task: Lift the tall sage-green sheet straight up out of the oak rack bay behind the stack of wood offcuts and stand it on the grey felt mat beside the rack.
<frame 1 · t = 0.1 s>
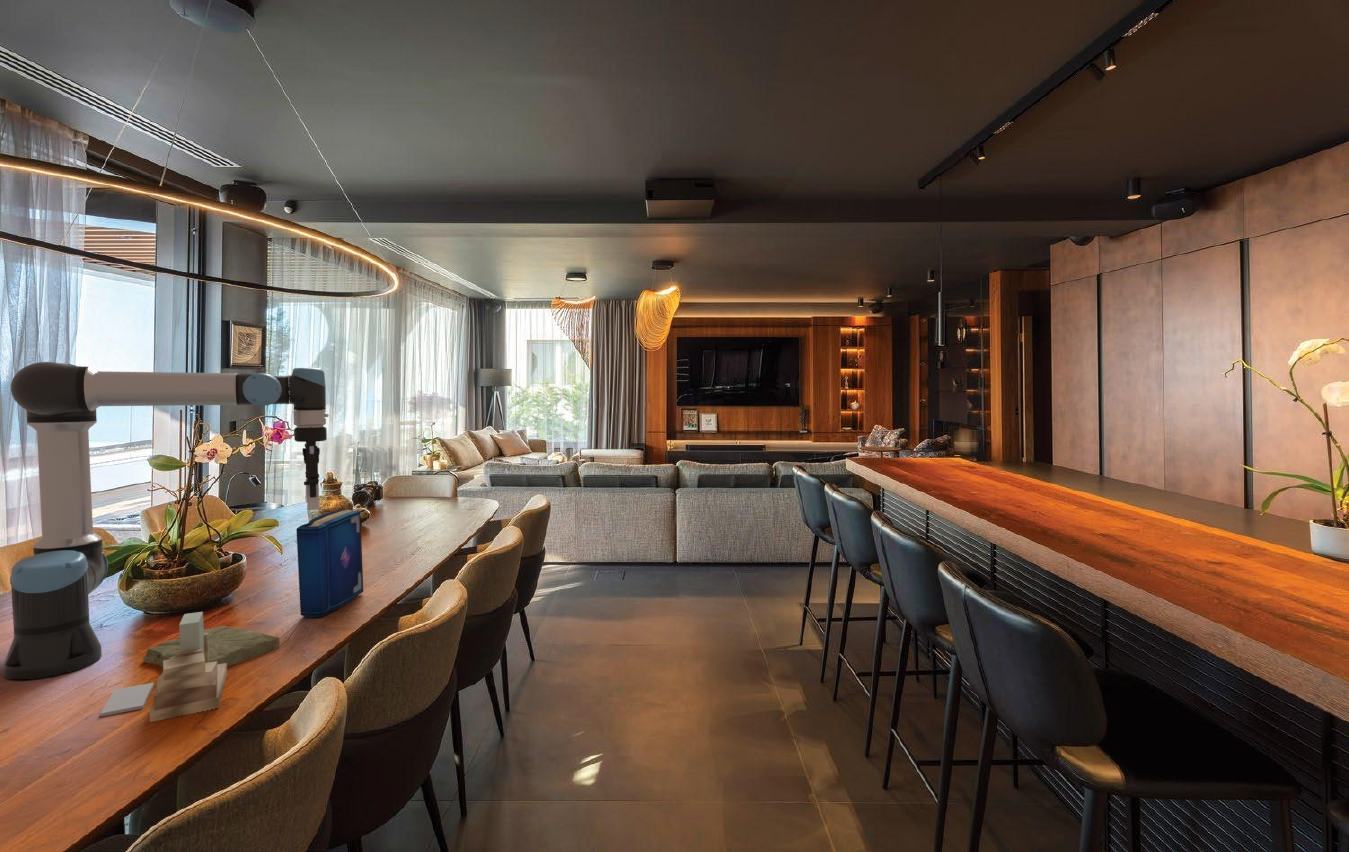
hand: (312, 505, 174), 28 cm above the table, tool pointing down, fingers open, 13 cm apart
rack: (191, 695, 125), on the table
decorative tile: (210, 658, 144), on the table
book: (332, 607, 177), on the table
tall sheet: (193, 678, 128), point 2 cm above the table, touching rack
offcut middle: (188, 683, 120), point 4 cm above the table, touching offcut bottom, offcut top
offcut bottom: (187, 697, 120), point 2 cm above the table, touching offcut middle, rack
felt mat: (128, 700, 123), on the table
offcut top: (184, 671, 119), point 7 cm above the table, touching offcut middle
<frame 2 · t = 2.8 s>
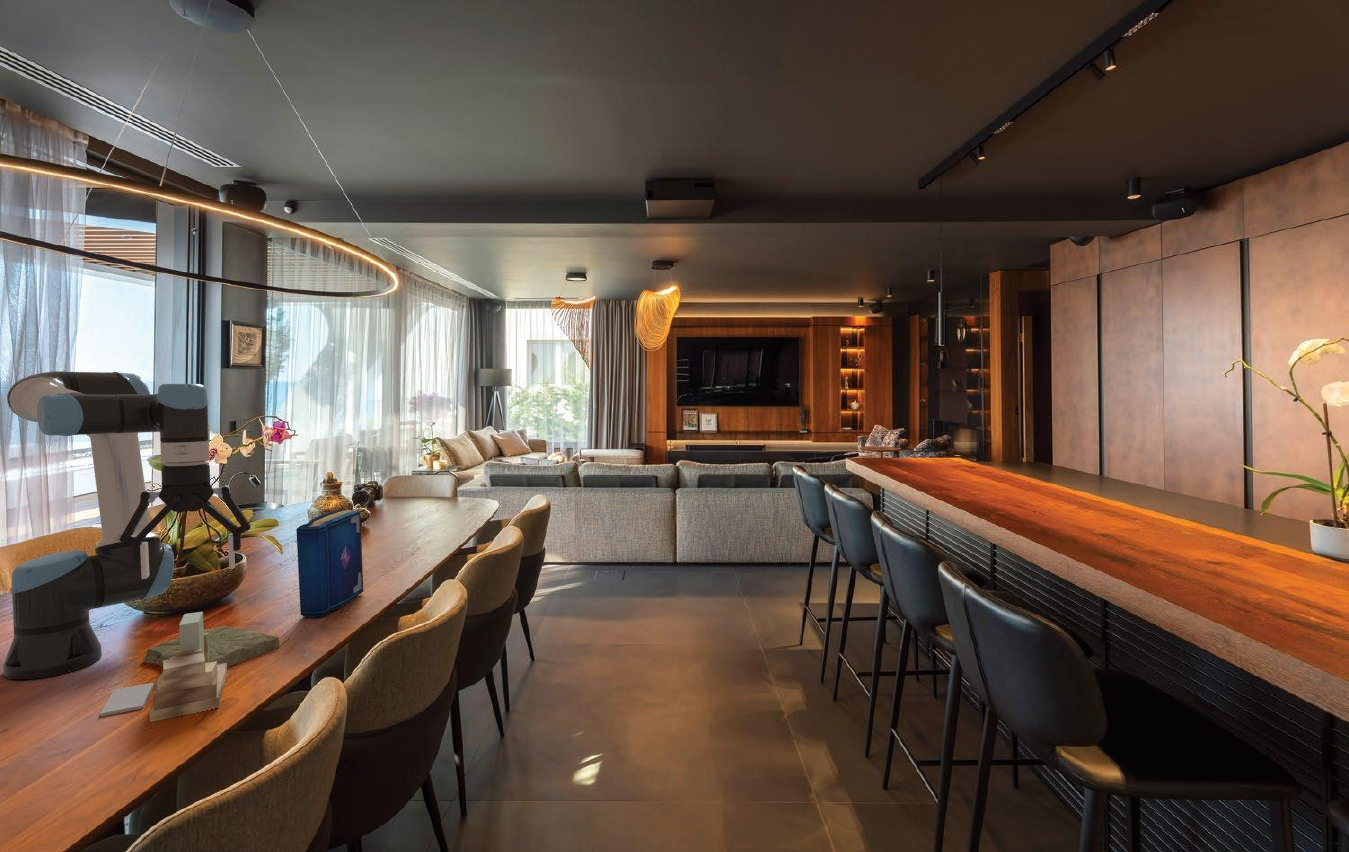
hand: (190, 572, 127), 23 cm above the table, tool pointing down, fingers open, 13 cm apart
nothing on the table moved.
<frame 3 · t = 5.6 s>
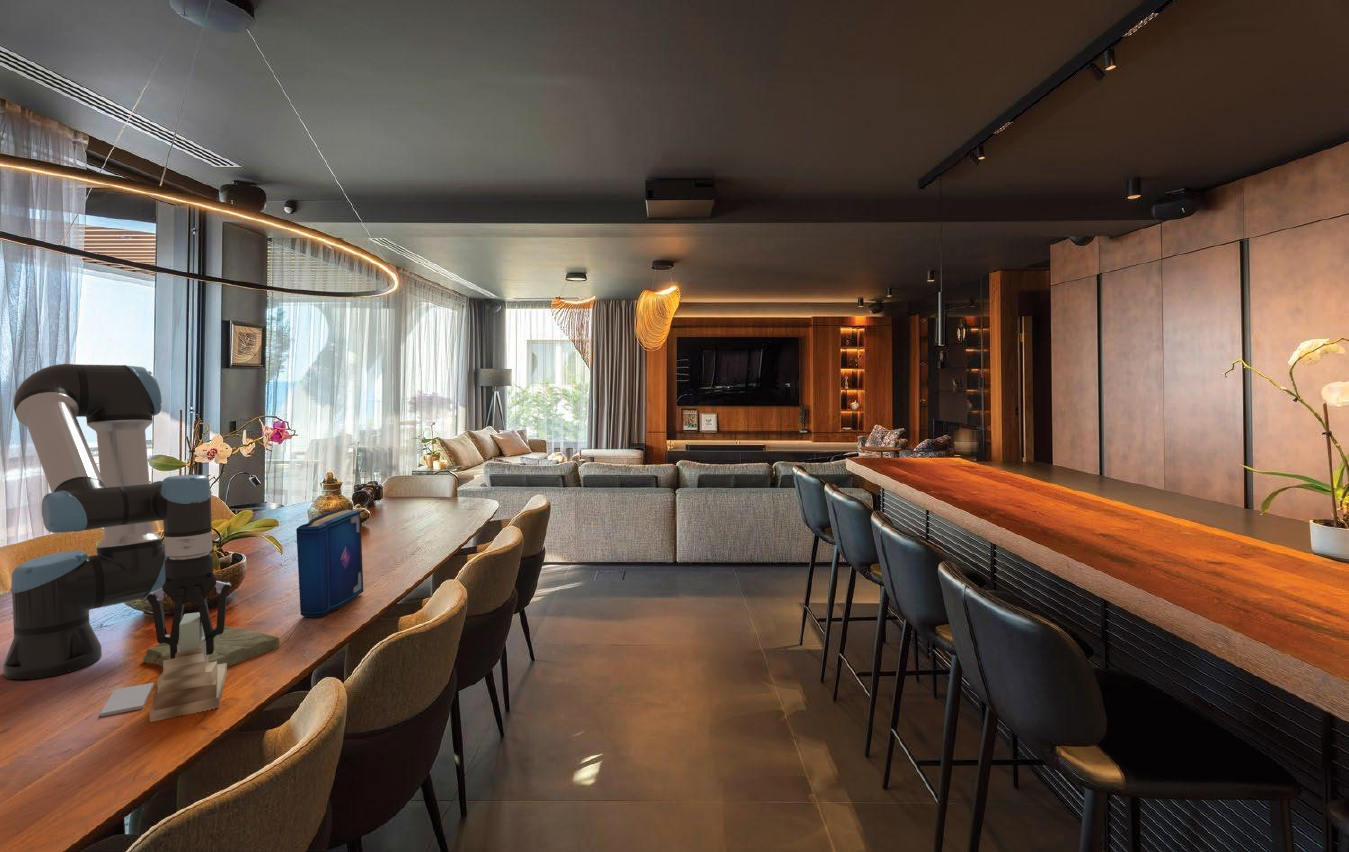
hand: (193, 672, 128), 3 cm above the table, tool pointing down, fingers closed on tall sheet, 3 cm apart
tall sheet: (193, 678, 128), point 2 cm above the table, touching gripper, rack
everything else where it was.
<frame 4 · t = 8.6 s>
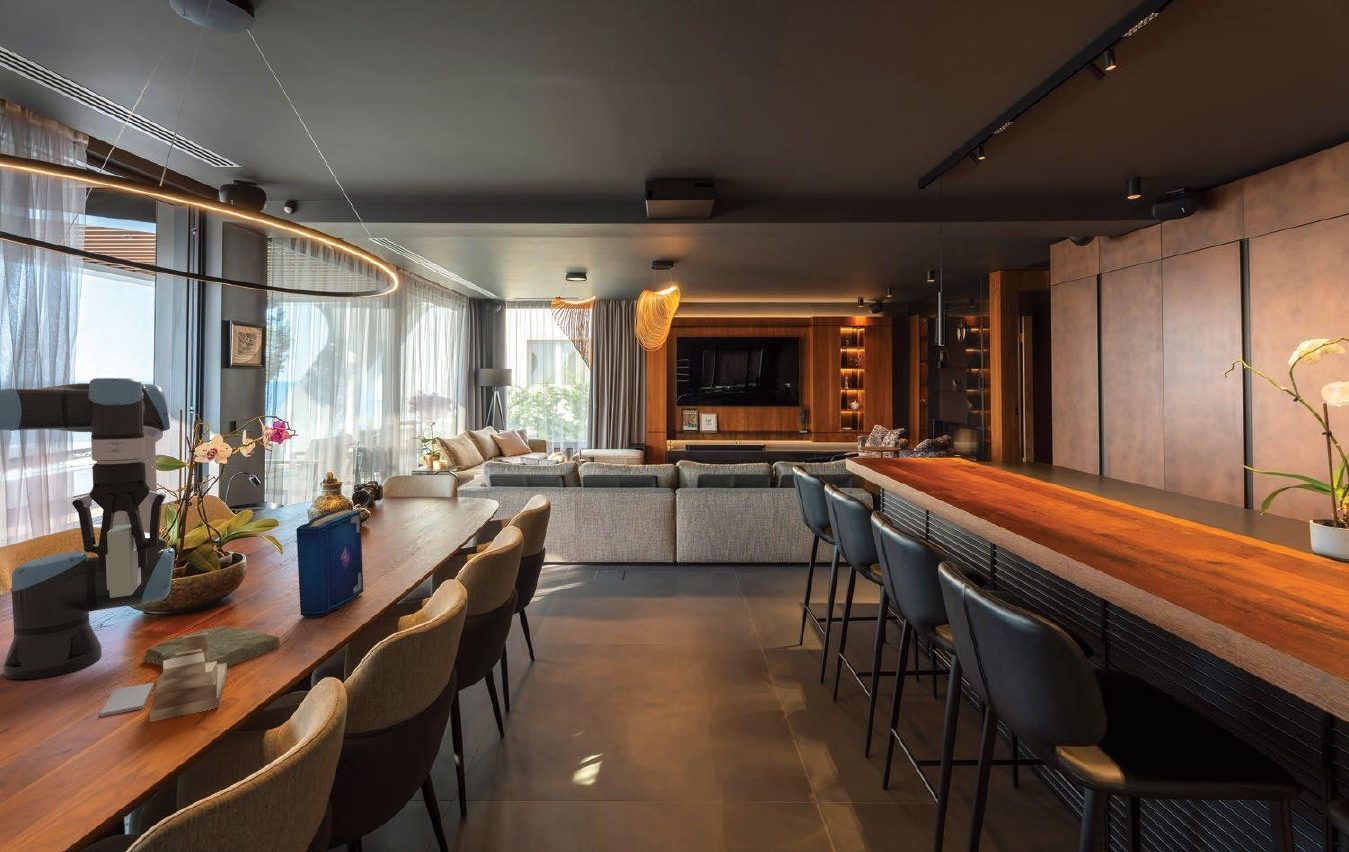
hand: (124, 586, 122), 22 cm above the table, tool pointing down, fingers closed on tall sheet, 3 cm apart
tall sheet: (124, 591, 122), point 21 cm above the table, touching gripper
everything else where it was.
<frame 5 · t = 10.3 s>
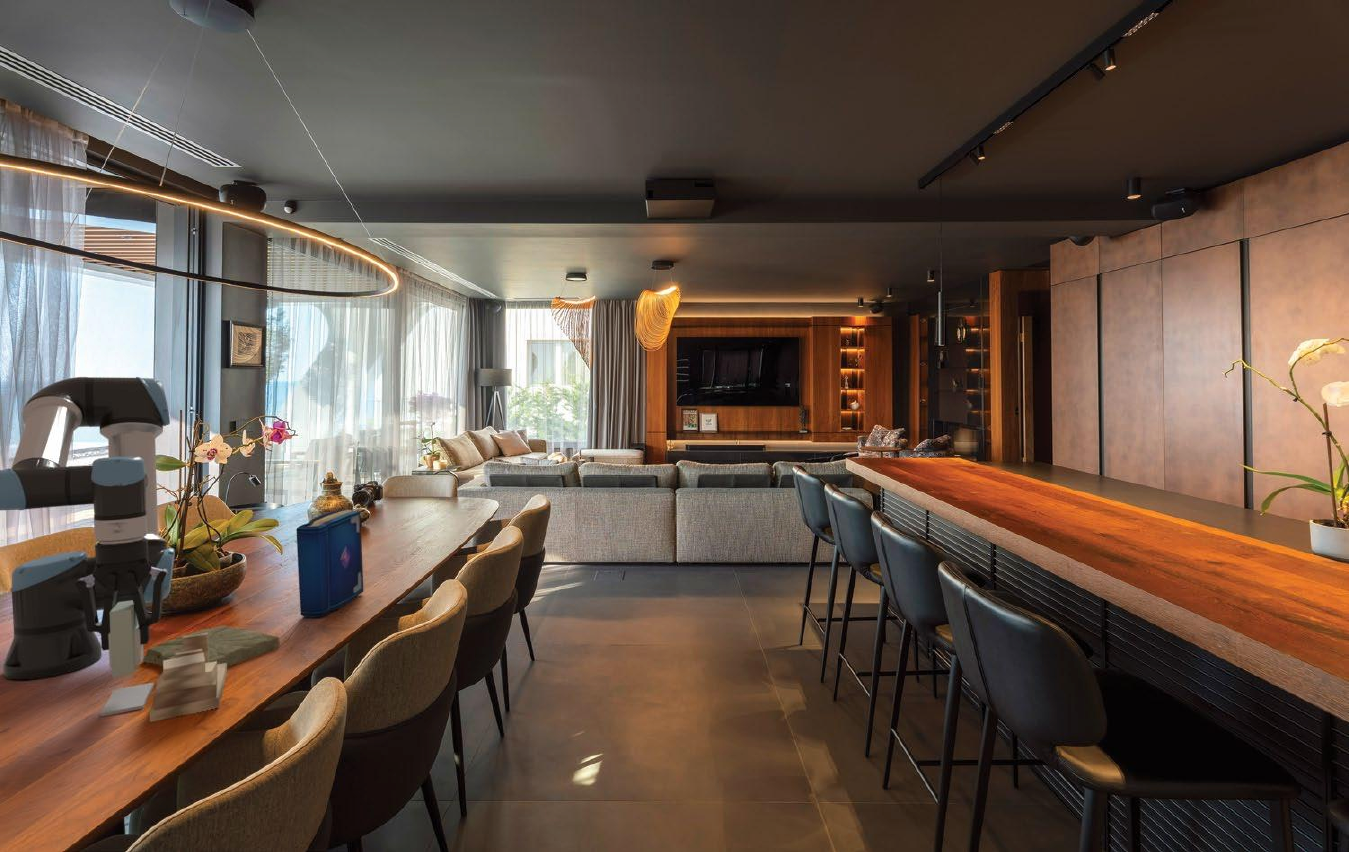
hand: (126, 663, 122), 7 cm above the table, tool pointing down, fingers closed on tall sheet, 3 cm apart
tall sheet: (127, 668, 122), point 6 cm above the table, touching gripper
everything else where it was.
when the fingers open (3 cm above the table, at t = 11.7 s): tall sheet stays where it is, resting on felt mat.
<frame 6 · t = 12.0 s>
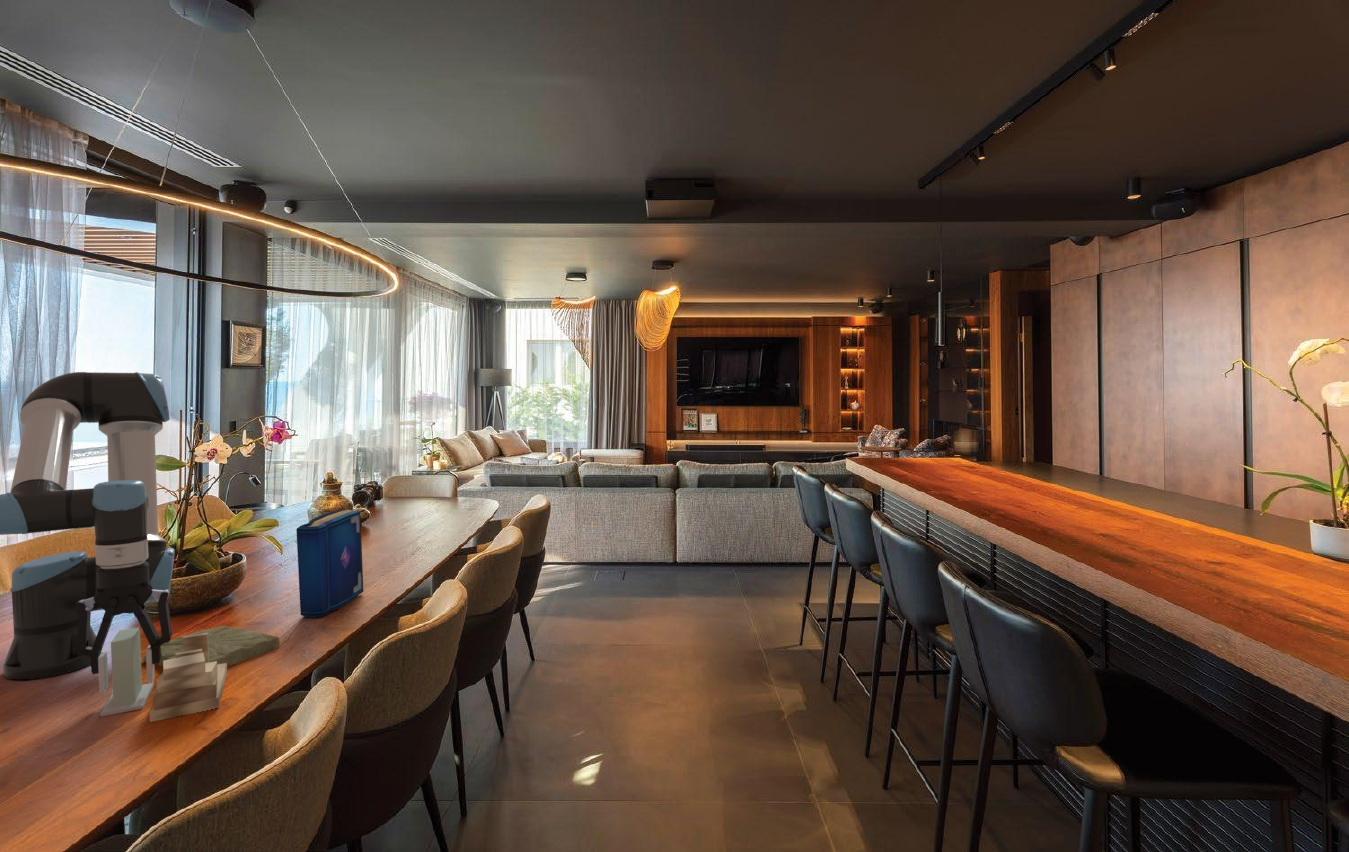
hand: (127, 684, 123), 3 cm above the table, tool pointing down, fingers open, 6 cm apart
tall sheet: (128, 697, 123), point 1 cm above the table, touching felt mat
everything else where it was.
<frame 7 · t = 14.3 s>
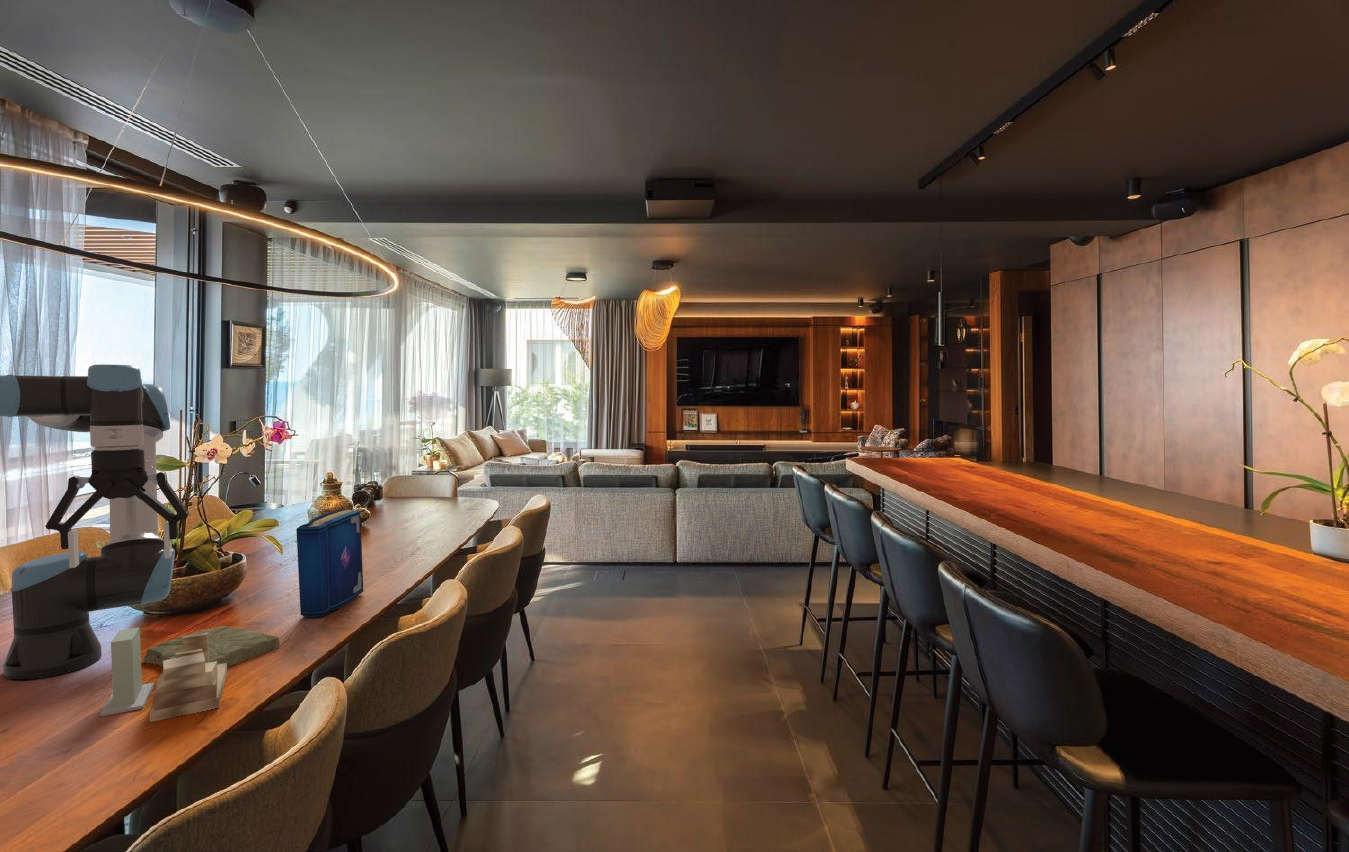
hand: (122, 561, 122), 26 cm above the table, tool pointing down, fingers open, 13 cm apart
nothing on the table moved.
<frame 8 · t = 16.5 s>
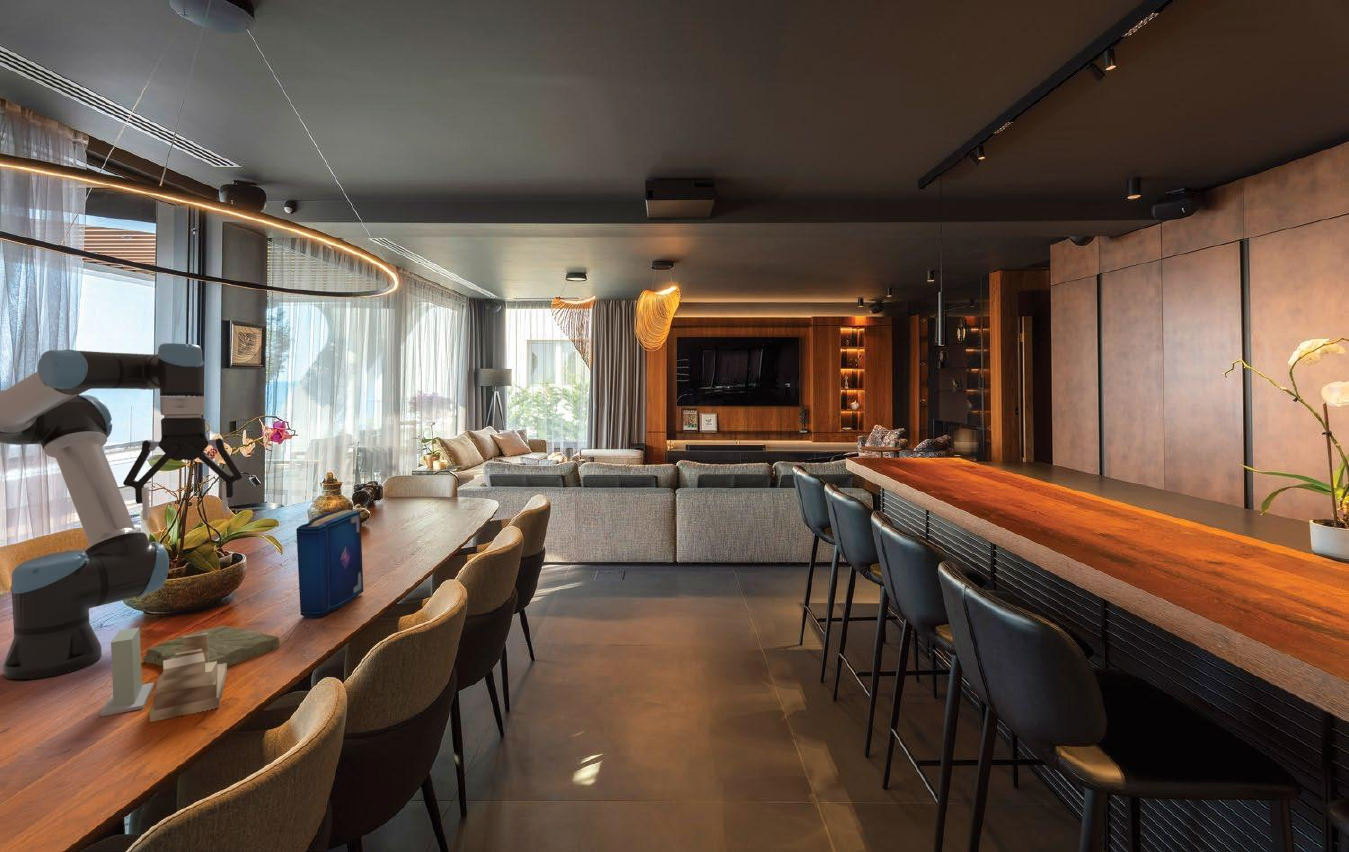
hand: (186, 515, 140), 32 cm above the table, tool pointing down, fingers open, 13 cm apart
nothing on the table moved.
at the end: tall sheet inside the target area on the felt mat (0.0 cm from its centre), point 0.6 cm above the felt mat's base; tall sheet tilted 0°; the gripper is holding nothing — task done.
